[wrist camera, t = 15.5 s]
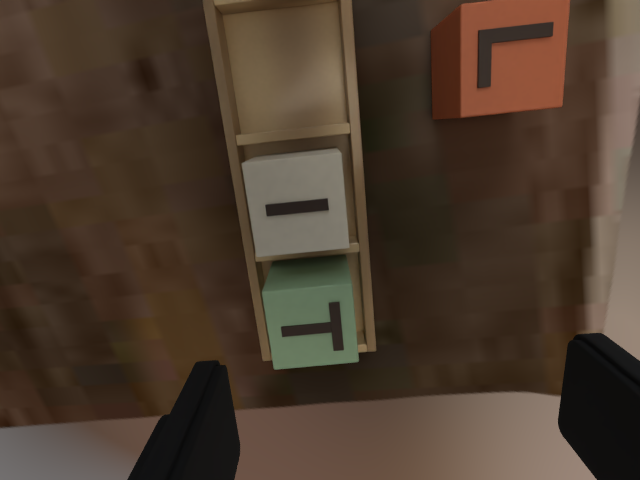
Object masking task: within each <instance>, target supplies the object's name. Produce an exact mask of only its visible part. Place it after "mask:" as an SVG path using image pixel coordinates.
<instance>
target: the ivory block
mask: <svg viewBox="0 0 640 480" xmlns="http://www.w3.org/2000/svg"><path fill="white" fill-rule="evenodd" d="M242 170H243V176H244V183H245V189H246V195H247V201H248V208H249V214H250V220H251V227H252V233H253V239H254V245H255V252H256V256H257V257H265V256H275V255H285V254H295V253H305V252H315V251H326V250H336V249H346V248H349V247H350V246H349V234H348V222H347V211H346V199H345V187H344V175H343V164H342V153H341V152H340V151H339V150H338V148H337V147H333V148H324V149H314V150H305V151H295V152H286V153H277V154H267V155H258V156H256V157H254V158H251V159H249V160H247V161H245V162H243V163H242Z"/></svg>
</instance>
